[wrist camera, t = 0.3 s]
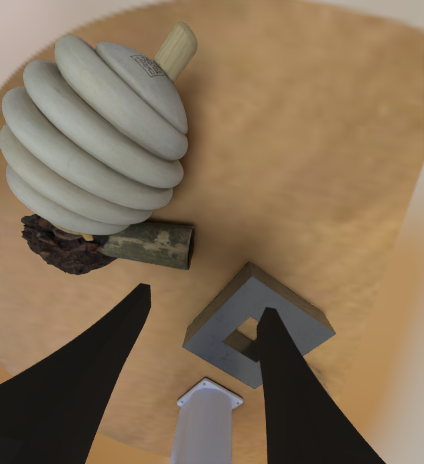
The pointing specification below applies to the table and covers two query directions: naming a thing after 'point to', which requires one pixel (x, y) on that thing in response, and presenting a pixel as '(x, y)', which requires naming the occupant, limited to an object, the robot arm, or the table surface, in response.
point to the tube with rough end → (110, 245)
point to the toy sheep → (98, 133)
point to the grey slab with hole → (253, 304)
